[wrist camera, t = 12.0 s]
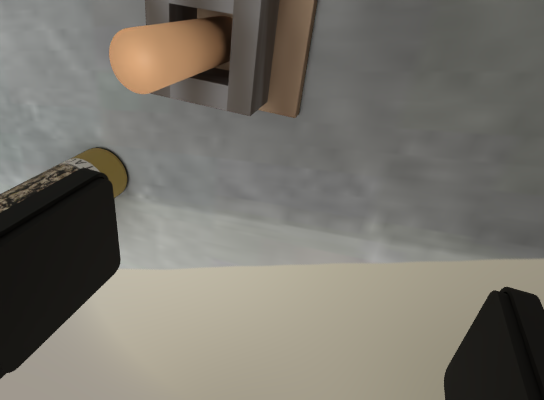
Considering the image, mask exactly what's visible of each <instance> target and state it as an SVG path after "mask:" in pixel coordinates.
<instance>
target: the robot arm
mask: <svg viewBox="0 0 544 400" xmlns="http://www.w3.org/2000/svg"><path fill="white" fill-rule="evenodd" d="M119 265H120V250H119V241H118V231H117V221H116V212H115V202H114V193H113V185H112V183H111V181H109V179H108V177H107V175H106V174H104V173H101V172H98V171H94V170H91V169H87V168H81V169H78V170H77V171H75V172H73V173H71V174H69V175H68V176H66V177H64V178H62V179H60V180H59V181H57V182H55V183H53V184H51V185H50V186H48V187H46V188H44V189H42V190H40V191H39V192H37V193H35V194H33V195H31V196H30V197H28V198H26V199H24V200H22V201H21V202H19V203H17V204H15V205H13V206H12V207H10V208H8V209H6V210H4V211H3V212H1V213H0V379H1V378H2V377H3V376H4V375H5V374H6V373H10V372H12V371H14V370H16V368H18V367H19V366H20V365H21V364H22V363H23V362H24V361H25V360H26V359H27V358H28V357H29V356H30V355H31V354H33V353H34V352H35V351H36V350H37V349H38V348H39V347H40V346H41V345H42V344H43V343H44V342H45V341H46V340H47V339H48V338H49V337H50V336H51V335H52V334H53V333H54V332H55V331H56V330H57V329H58V328H59V327H60V326H61V325H62V324H63V323H64V322H65V321H66V320H67V319H68V318H70V317H71V316H72V315H73V313H75V312H76V311H77V310H78V309H79V308H80V307H81V306H82V305H83V304H84V303H85V302H86V301H87V300H88V299H89V298H90V297H91V296H92V295H93V294H94V293H95V292H96V291H97V290H98V289H99V288H100V287H101V286H102V285H103V284H104V283H105V282H106V281H107V280H108V279H110V277H112V275H114V274H115V272H116V271H117V270H118V268H119ZM444 390H445V400H544V309H543V307H542V304H541V302H540V300H539V298H538V297H537V296H536V295H534V294H531V293H527V292H524V291H520V290H517V289H513V288H509V287H504V288H503V289H501V291H500V292H499V291H492V292H491V293H490V294H489V296H488V297H487V299H486V301H485V303H484V304H483V306H482V308H481V310H480V311H479V313H478V315H477V317H476V319H475V320H474V322H473V324H472V325H471V327H470V329H469V330H468V332H467V334H466V336H465V337H464V339H463V341H462V343H461V344H460V346H459V348H458V350H457V352H456V353H455V355H454V357H453V358H452V360H451V362H450V364H449V365H448V367H447V369H446V372H445V377H444Z"/></svg>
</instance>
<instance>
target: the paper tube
mask: <svg viewBox="0 0 544 400" xmlns="http://www.w3.org/2000/svg"><path fill="white" fill-rule="evenodd" d="M81 168H87V169H91V170H94V171H98V172H101V173H104V174H106V175H107V177H108V179H109V181H111V183H112V185H113V193H114V198H115V197H116V196H118V195H119V194H121V193H122V192H123V191H124V189H125V187H126V184H127V174H126V170H125V168H124V166H123V164H122V163H121V161H120V160H119V159H118V158H117V157H116V156H115V155H114V154H112V153H111V152H109V151H107V150H104V149H101V148H92V149H89V150H87V151H85V152H83V153H81V154H79V155H77V156H75V157H73V158H71V159H69V160H67V161H65V162H63V163H61V164H59V165H57V166H55V167H53V168H51V169H49V170H47V171H45V172H43V173H41V174H39V175H37V176H35V177H33V178H31V179H29V180H27V181H25V182H23V183H21V184H19V185H17V186H15V187H13V188H11V189H10V190H8V191H6V192H4V193H2V194H0V213H1V212H3V211H4V210H6V209H8V208H10V207H12V206H13V205H15V204H17V203H19V202H21V201H22V200H24V199H26V198H28V197H30V196H31V195H33V194H35V193H37V192H39V191H40V190H42V189H44V188H46V187H48V186H50V185H51V184H53V183H55V182H57V181H59V180H60V179H62V178H64V177H66V176H68V175H69V174H71V173H73V172H75V171H77V170H78V169H81Z"/></svg>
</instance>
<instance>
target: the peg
mask: <svg viewBox="0 0 544 400" xmlns="http://www.w3.org/2000/svg"><path fill="white" fill-rule="evenodd" d="M232 21H233V19H232V18H231V17H228V16H214V17H207V18H199V19H192V20H184V21H176V22H169V23H161V24H154V25H146V26H139V27H131V28H125V29H123V30H120V31H119V32H118V33H117V34H116V35H115V36H114V37H113V39H112V41H111V44H110V50H109V57H110V63H111V66H112V69H113V71H114V73H115V75H116V77H117V78H118V80H119V81H120V82H121V83H122V84H123V85H124V86H125V87H126V88H128V89H129V90H131V91H133V92H135V93H139V94H148V93H151V92H154V91H156V90H159V89H161V88H164V87H166V86H169V85H171V84H174V83H177V82H179V81H182V80H184V79H187V78H189V77H192V76H194V75H197V74H199V73H202V72H204V71H207V70H209V69H212V68H214V67H217V66H219V65H222V64H224V63H227V62H229V61H230V52H231V37H232Z"/></svg>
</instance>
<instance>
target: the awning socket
mask: <svg viewBox="0 0 544 400" xmlns="http://www.w3.org/2000/svg"><path fill="white" fill-rule="evenodd" d="M317 1H318V0H145V11H146V25H154V24H161V23H169V22H176V21H184V20H192V19H199V18H207V17H214V16H228V17H231V18H232V19H233V21H232V37H231V52H230V61H229V62H227V63H224V64H222V65H219V66H217V67H214V68H212V69H209V70H207V71H204V72H202V73H199V74H197V75H194V76H192V77H189V78H187V79H184V80H182V81H179V82H177V83H174V84H171V85H169V86H166V87H164V88H161V89H159V90H156V91H154V92H151V94H155V95H160V96H164V97H169V98H173V99H177V100H182V101H186V102H190V103H195V104H199V105H204V106H208V107H212V108H217V109H221V110H225V111H230V112H234V113H239V114H243V115H247V116H251V115H252V114H253V113H254V112H256V111H257V110H261V111H266V112H270V113H275V114H279V115H284V116H288V117H293V118H296V116H297V115H298V114H299V110H300V103H301V97H302V91H303V85H304V79H305V73H306V67H307V61H308V55H309V49H310V43H311V37H312V31H313V25H314V19H315V13H316V7H317Z"/></svg>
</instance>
